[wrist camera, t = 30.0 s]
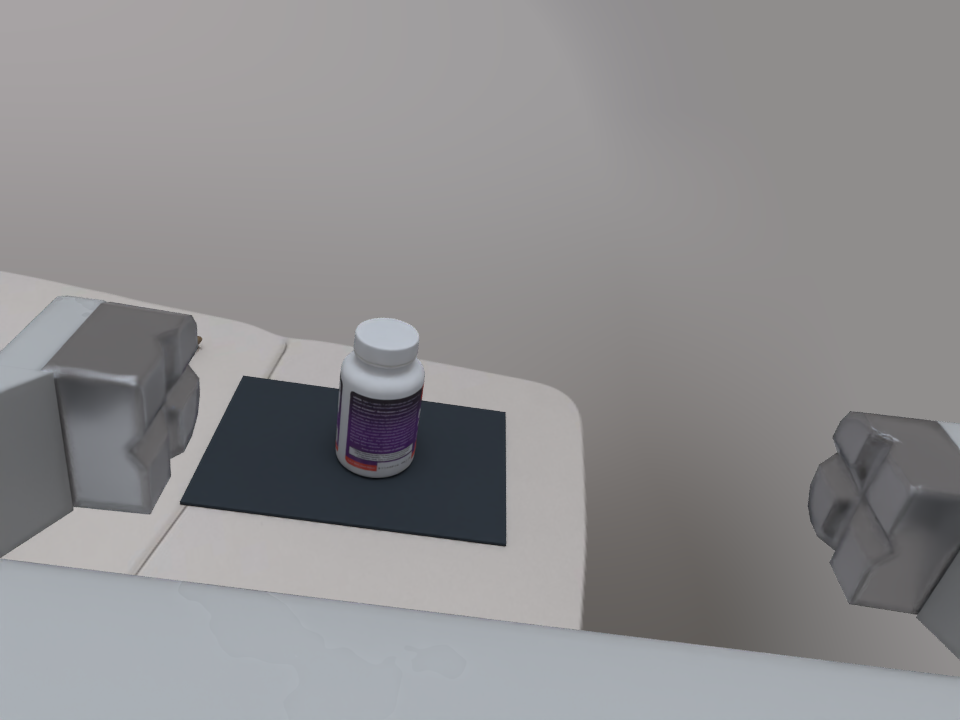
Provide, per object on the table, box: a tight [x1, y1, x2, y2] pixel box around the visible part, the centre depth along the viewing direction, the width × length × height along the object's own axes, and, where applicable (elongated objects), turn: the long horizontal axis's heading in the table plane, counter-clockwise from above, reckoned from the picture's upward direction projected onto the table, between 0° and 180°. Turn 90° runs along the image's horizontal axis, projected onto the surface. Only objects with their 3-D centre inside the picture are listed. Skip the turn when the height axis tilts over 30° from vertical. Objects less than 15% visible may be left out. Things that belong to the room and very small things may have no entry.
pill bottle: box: [336, 318, 425, 478], centre depth 53 cm, size 5×5×10 cm
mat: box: [180, 376, 506, 546], centre depth 55 cm, size 20×14×1 cm
